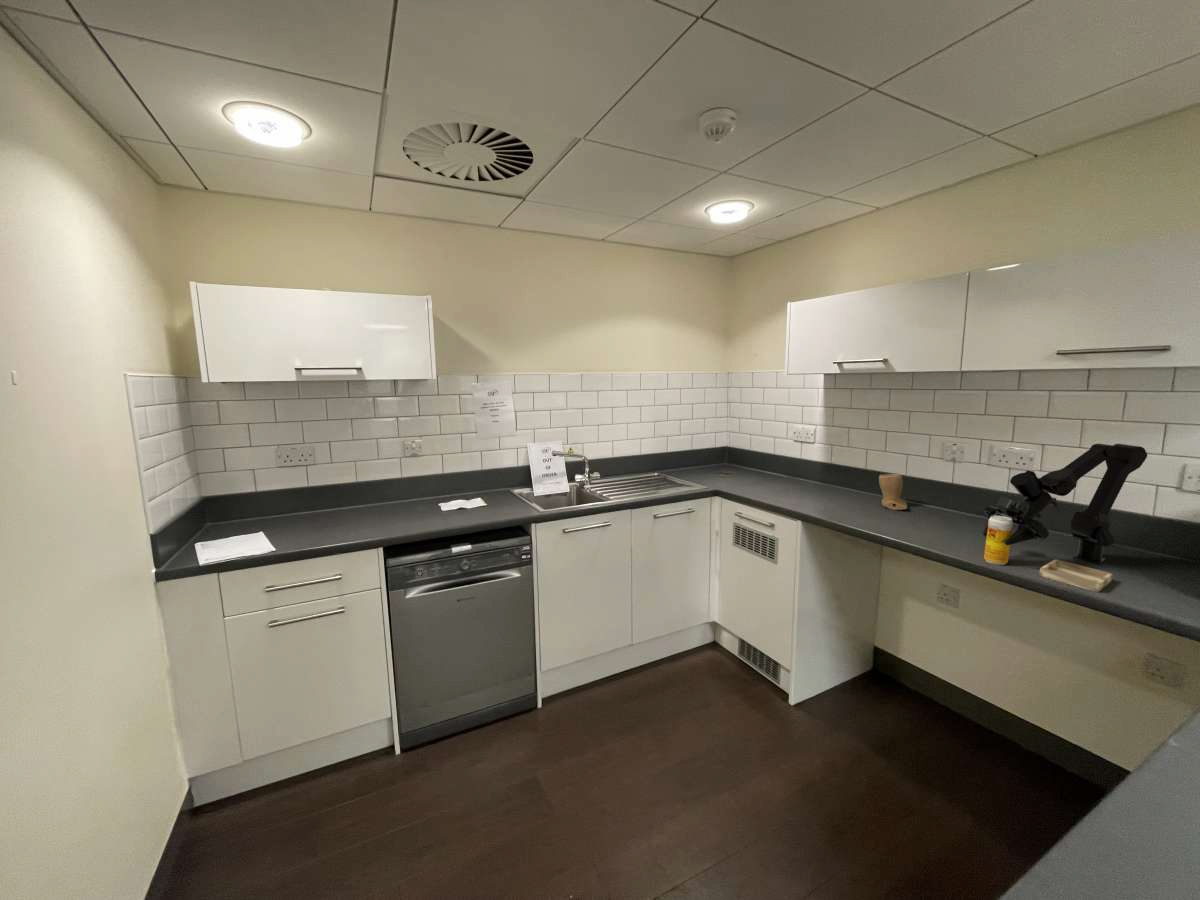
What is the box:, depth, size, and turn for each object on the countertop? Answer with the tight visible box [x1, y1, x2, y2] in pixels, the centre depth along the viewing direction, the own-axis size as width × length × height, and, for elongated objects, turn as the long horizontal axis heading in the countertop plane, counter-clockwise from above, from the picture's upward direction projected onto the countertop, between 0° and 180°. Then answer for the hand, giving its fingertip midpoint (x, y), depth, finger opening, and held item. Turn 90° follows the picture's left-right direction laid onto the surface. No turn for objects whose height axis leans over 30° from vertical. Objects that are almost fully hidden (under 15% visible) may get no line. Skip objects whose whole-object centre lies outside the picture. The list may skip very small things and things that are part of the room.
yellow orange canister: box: [983, 516, 1014, 566], centre depth 156 cm, size 6×6×15 cm
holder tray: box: [1038, 559, 1114, 593], centre depth 145 cm, size 13×13×2 cm
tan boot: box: [878, 473, 908, 511], centre depth 220 cm, size 15×12×15 cm
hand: (994, 539), depth 156 cm, fingers open, 8 cm apart
